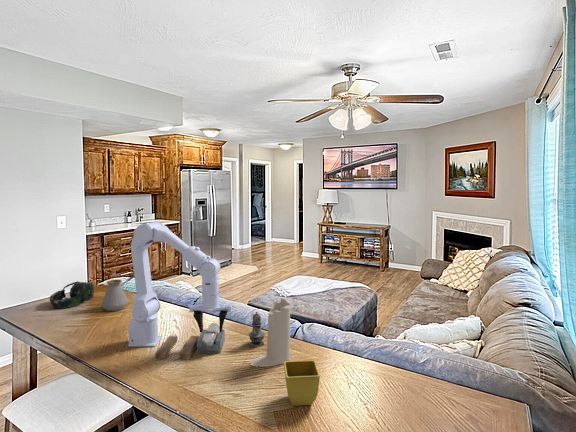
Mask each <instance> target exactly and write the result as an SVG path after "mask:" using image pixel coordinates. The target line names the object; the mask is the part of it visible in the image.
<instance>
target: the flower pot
mask: <svg viewBox="0 0 576 432" xmlns="http://www.w3.org/2000/svg"><path fill="white" fill-rule="evenodd" d="M283 368H284V377H285V379H284V380H285V384H286V390H287V396H288V399H289V402H290V403H291V405H292V406H293V407H297V406H311V405H313V404H314V403H315V401H316V399H317V397H318V393H319V387H320V378H321V373H320V372H319V369H318V366H317V363H316V360H313V359H307V360H289V361H285V362H284V364H283Z"/></svg>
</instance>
